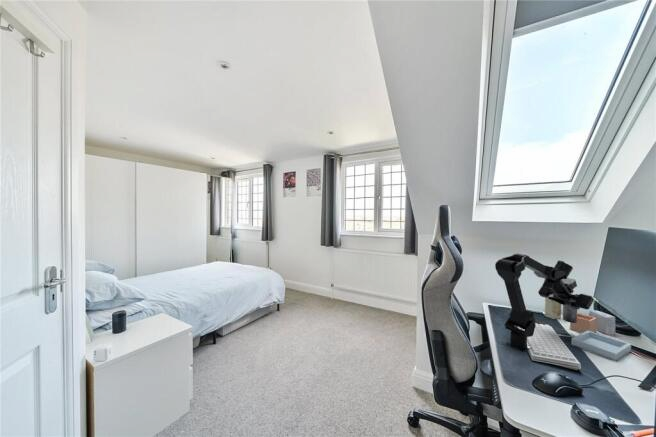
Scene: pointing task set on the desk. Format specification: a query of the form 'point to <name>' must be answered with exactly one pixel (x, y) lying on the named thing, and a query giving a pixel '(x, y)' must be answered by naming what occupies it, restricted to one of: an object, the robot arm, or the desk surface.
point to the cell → (569, 312)
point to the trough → (601, 345)
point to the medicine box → (604, 322)
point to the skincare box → (552, 309)
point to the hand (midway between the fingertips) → (571, 306)
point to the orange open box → (584, 324)
